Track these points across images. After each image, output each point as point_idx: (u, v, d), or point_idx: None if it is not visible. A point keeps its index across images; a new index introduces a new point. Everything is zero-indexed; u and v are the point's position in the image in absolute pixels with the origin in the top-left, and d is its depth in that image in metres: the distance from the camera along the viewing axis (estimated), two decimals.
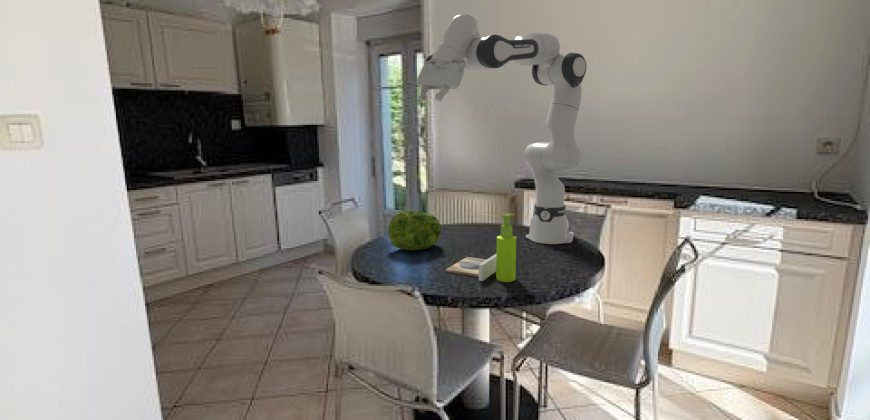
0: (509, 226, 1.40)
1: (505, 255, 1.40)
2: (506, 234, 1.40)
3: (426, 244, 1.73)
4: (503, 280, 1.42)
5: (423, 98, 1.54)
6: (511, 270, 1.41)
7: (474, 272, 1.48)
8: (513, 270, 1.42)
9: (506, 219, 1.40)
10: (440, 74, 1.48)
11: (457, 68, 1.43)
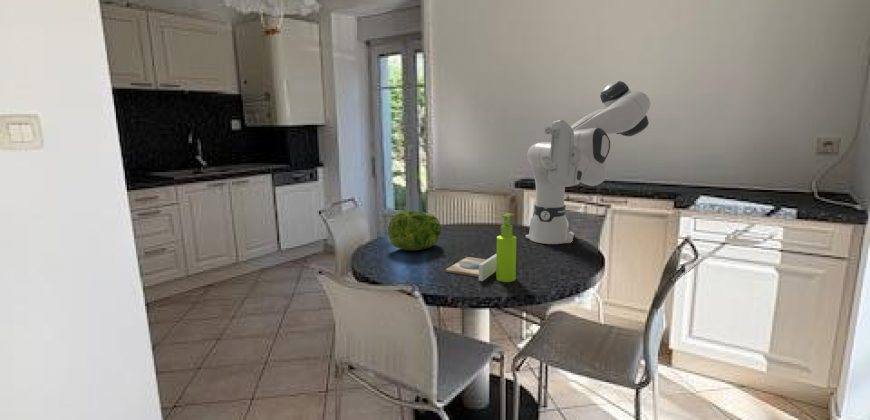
0: (509, 226, 1.40)
1: (505, 255, 1.40)
2: (506, 234, 1.40)
3: (426, 244, 1.73)
4: (503, 280, 1.42)
5: None
6: (511, 270, 1.41)
7: (474, 272, 1.48)
8: (513, 270, 1.42)
9: (506, 219, 1.40)
10: None
11: None
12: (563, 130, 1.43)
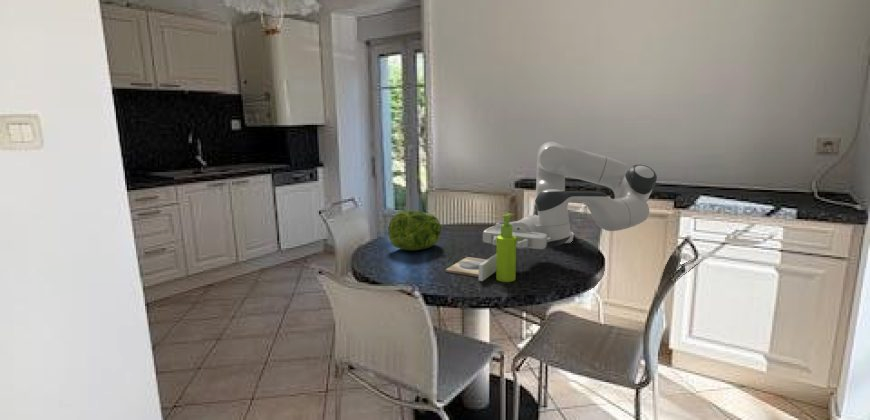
0: (509, 226, 1.40)
1: (505, 255, 1.40)
2: (506, 234, 1.40)
3: (426, 244, 1.73)
4: (503, 280, 1.42)
5: None
6: (511, 270, 1.41)
7: (474, 272, 1.48)
8: (513, 270, 1.42)
9: (506, 219, 1.40)
10: (523, 233, 1.47)
11: (547, 236, 1.46)
12: None
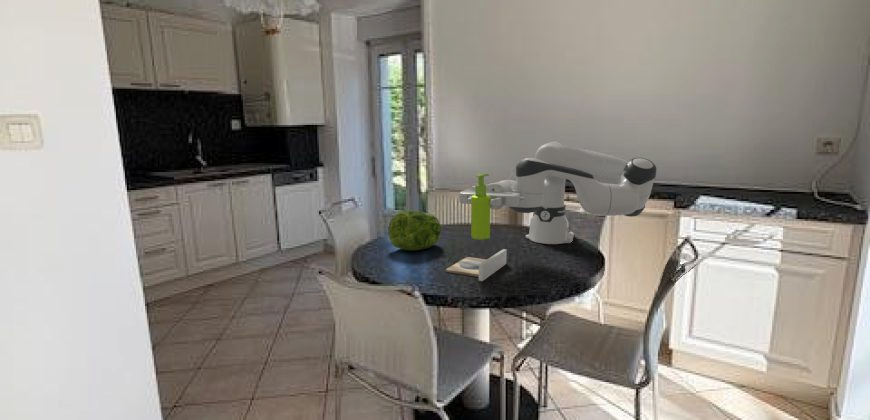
0: (483, 185, 1.46)
1: (479, 213, 1.46)
2: (480, 193, 1.46)
3: (426, 244, 1.73)
4: (477, 237, 1.47)
5: None
6: (485, 227, 1.47)
7: (474, 272, 1.48)
8: (487, 228, 1.47)
9: (480, 178, 1.46)
10: (497, 193, 1.53)
11: (520, 195, 1.52)
12: None
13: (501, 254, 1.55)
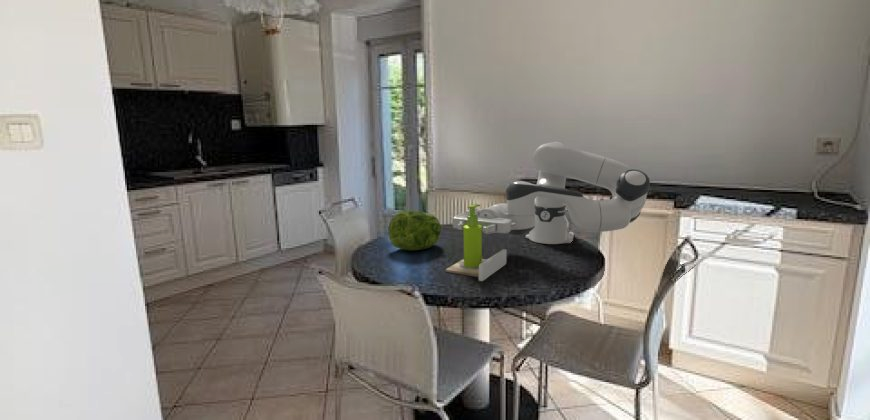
0: (474, 216, 1.51)
1: (470, 243, 1.51)
2: (471, 223, 1.51)
3: (426, 244, 1.73)
4: (470, 266, 1.52)
5: (462, 227, 1.55)
6: (477, 257, 1.52)
7: (474, 272, 1.48)
8: (479, 257, 1.52)
9: (471, 209, 1.51)
10: (489, 219, 1.58)
11: (511, 221, 1.56)
12: None
13: (501, 254, 1.55)
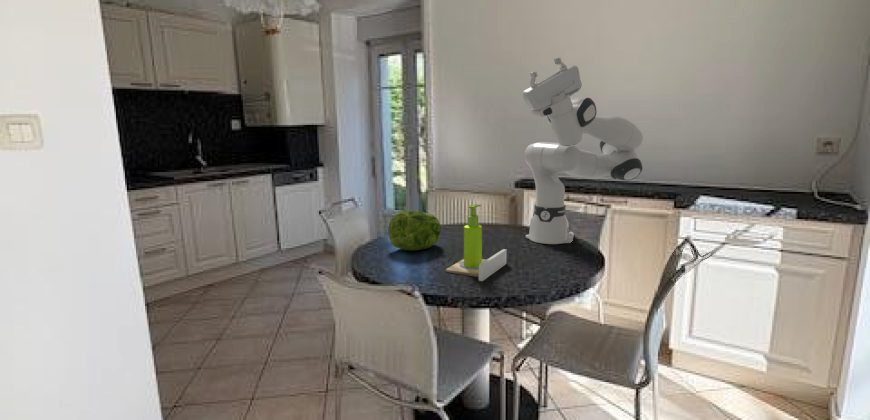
0: (475, 216, 1.51)
1: (471, 242, 1.51)
2: (472, 223, 1.51)
3: (426, 244, 1.73)
4: (470, 266, 1.52)
5: None
6: (477, 257, 1.52)
7: (474, 272, 1.48)
8: (479, 257, 1.52)
9: (472, 209, 1.51)
10: None
11: None
12: (569, 72, 1.56)
13: (501, 254, 1.55)
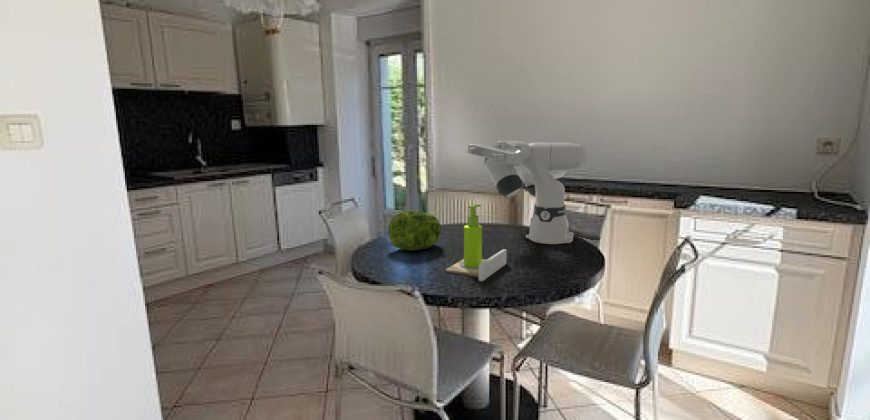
0: (475, 216, 1.51)
1: (471, 242, 1.51)
2: (472, 223, 1.51)
3: (426, 244, 1.73)
4: (470, 266, 1.52)
5: None
6: (477, 257, 1.52)
7: (474, 272, 1.48)
8: (479, 257, 1.52)
9: (472, 209, 1.51)
10: None
11: None
12: (477, 145, 1.70)
13: (501, 254, 1.55)
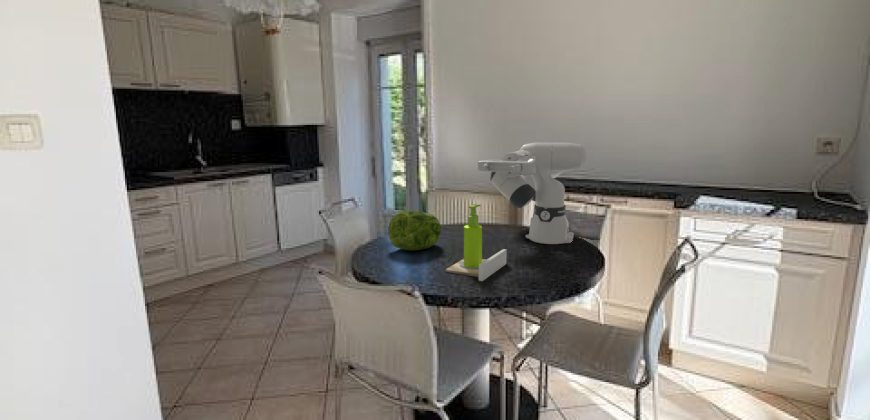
0: (475, 216, 1.51)
1: (471, 242, 1.51)
2: (472, 223, 1.51)
3: (426, 244, 1.73)
4: (470, 266, 1.52)
5: None
6: (477, 257, 1.52)
7: (474, 272, 1.48)
8: (479, 257, 1.52)
9: (472, 209, 1.51)
10: None
11: None
12: (487, 160, 1.66)
13: (501, 254, 1.55)
